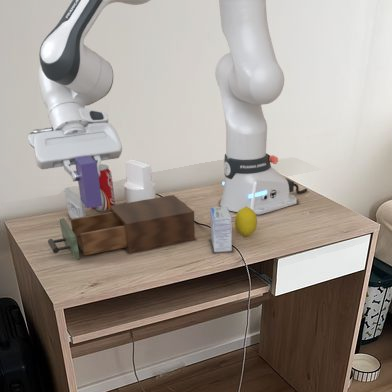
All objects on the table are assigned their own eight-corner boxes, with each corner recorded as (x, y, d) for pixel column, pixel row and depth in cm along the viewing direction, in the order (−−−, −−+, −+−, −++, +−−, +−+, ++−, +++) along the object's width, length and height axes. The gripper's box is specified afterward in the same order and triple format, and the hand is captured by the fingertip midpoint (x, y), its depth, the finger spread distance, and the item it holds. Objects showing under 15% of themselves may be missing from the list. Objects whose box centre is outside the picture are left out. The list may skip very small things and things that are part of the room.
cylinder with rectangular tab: (162, 204, 159) (160, 163, 153) (137, 212, 155) (133, 170, 148) (144, 197, 165) (141, 157, 158) (120, 204, 160) (115, 163, 154)
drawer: (57, 263, 127) (52, 240, 123) (46, 243, 136) (42, 221, 133) (140, 246, 133) (138, 224, 130) (125, 229, 143) (123, 207, 139)
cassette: (89, 227, 147) (85, 199, 142) (83, 228, 146) (79, 200, 142) (73, 213, 155) (68, 187, 151) (67, 215, 154) (62, 188, 150)
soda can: (111, 213, 154) (105, 171, 148) (87, 212, 156) (81, 170, 149) (118, 205, 160) (114, 163, 153) (96, 204, 161) (90, 163, 155)
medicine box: (231, 251, 132) (232, 217, 127) (213, 253, 131) (213, 218, 126) (227, 239, 138) (228, 205, 133) (210, 239, 138) (210, 206, 133)
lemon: (255, 241, 136) (256, 211, 131) (233, 240, 137) (233, 210, 132) (257, 233, 141) (258, 203, 136) (235, 232, 141) (236, 202, 137)
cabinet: (129, 253, 132) (126, 223, 128) (113, 233, 143) (109, 205, 138) (195, 240, 138) (194, 211, 134) (174, 222, 148) (173, 194, 144)
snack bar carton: (95, 198, 131) (89, 155, 125) (102, 205, 127) (96, 162, 121) (81, 200, 130) (74, 157, 124) (87, 208, 125) (80, 164, 120)
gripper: (25, 122, 121) (42, 178, 120) (113, 112, 128) (130, 164, 126) (26, 138, 127) (42, 192, 126) (110, 128, 134) (126, 178, 132)
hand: (87, 178), depth 126 cm, fingers closed on snack bar carton, 3 cm apart
